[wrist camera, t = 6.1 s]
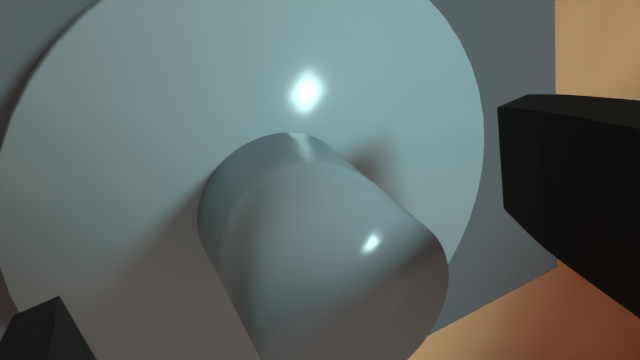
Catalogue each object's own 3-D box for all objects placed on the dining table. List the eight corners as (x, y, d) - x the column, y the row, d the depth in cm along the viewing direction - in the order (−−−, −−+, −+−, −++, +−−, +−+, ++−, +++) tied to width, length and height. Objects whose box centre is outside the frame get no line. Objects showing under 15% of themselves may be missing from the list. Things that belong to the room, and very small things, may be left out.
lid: (436, -132, 10) (618, -139, 7) (484, 270, 15) (606, 371, 12) (-139, 55, 8) (-240, 164, 5) (129, 459, 13) (166, 644, 10)
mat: (534, -276, 10) (551, -282, 10) (546, 259, 17) (557, 266, 16) (-459, -44, 7) (-482, -39, 6) (28, 530, 13) (28, 547, 13)
